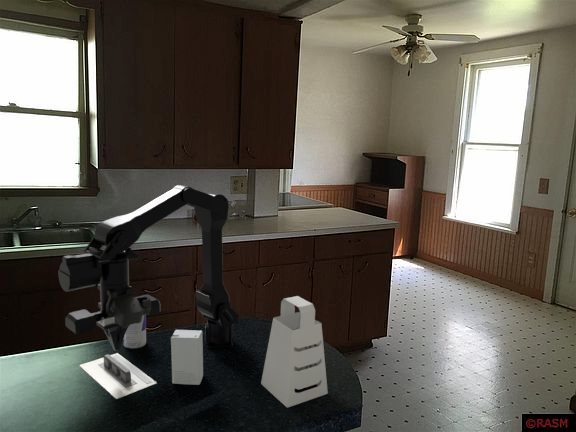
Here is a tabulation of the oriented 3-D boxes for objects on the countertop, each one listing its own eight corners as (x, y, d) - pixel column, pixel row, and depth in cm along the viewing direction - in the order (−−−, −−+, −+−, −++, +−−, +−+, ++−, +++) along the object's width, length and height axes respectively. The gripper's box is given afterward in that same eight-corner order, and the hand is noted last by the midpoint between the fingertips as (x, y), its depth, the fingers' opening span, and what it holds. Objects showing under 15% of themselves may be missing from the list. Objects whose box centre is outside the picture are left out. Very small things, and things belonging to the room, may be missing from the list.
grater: (299, 371, 108) (303, 290, 105) (327, 393, 100) (333, 305, 96) (260, 383, 102) (263, 297, 99) (287, 407, 94) (291, 314, 90)
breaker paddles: (109, 363, 105) (108, 353, 105) (130, 381, 98) (130, 370, 98) (103, 365, 104) (103, 355, 104) (125, 383, 97) (125, 372, 97)
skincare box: (203, 380, 103) (204, 329, 101) (199, 391, 98) (200, 338, 96) (175, 379, 103) (175, 328, 101) (170, 390, 98) (170, 336, 96)
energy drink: (148, 344, 119) (148, 299, 117) (142, 354, 114) (142, 307, 111) (127, 343, 119) (126, 299, 117) (120, 353, 113) (119, 307, 111)
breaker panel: (117, 358, 111) (117, 352, 110) (157, 389, 99) (157, 382, 98) (79, 371, 104) (79, 364, 104) (116, 405, 92) (116, 398, 92)
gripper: (86, 301, 85) (88, 379, 88) (174, 281, 99) (174, 350, 101) (62, 286, 93) (65, 358, 96) (147, 269, 106) (148, 333, 109)
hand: (116, 350), depth 100 cm, fingers closed
